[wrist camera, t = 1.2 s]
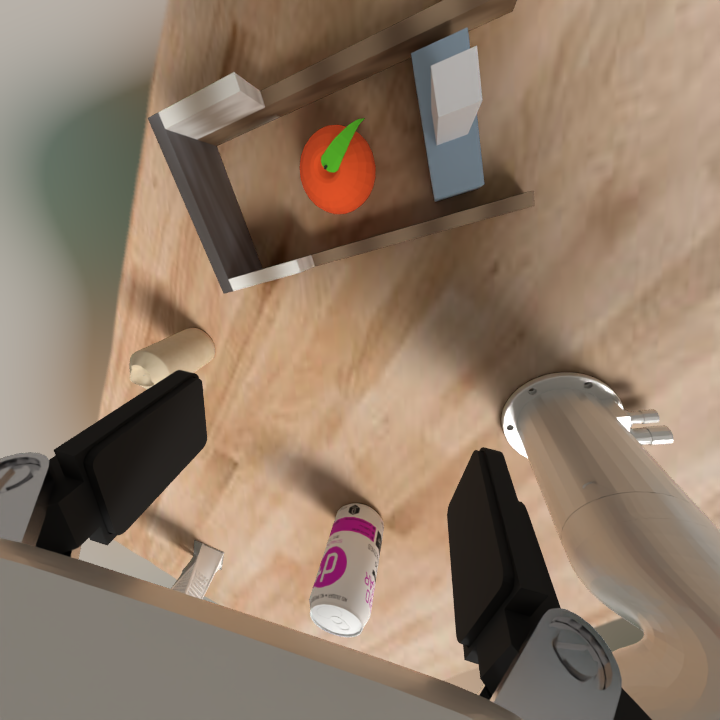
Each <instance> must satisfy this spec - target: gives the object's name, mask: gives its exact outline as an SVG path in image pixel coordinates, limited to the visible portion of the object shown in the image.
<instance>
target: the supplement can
mask: <svg viewBox="0 0 720 720" xmlns="http://www.w3.org/2000/svg"><path fill="white" fill-rule="evenodd" d="M383 530H384V524H383V520H382V519H381V517H380V515H378V513H377V512H376V511H375V510H374V509H372V508H371V507H369V506H367V505H364V504H359V503H351V504H348V505H346V506H343V507H341V508H340V509H339V510H338V511H337V515H336V518H335V521H334V524H333V527H332V530H331V533H330V536H329V539H328V543H327V546H326V549H325V552H324V555H323V558H322V561H321V564H320V567H319V571H318V574H317V577H316V580H315V583H314V586H313V589H312V592H311V595H310V599H309V600H310V610H311V611H310V616H311V619H312V620H313V622H314V623H315V624H316V625H317V626H318V627H320V628H321V629H322V630H324V631H326V632H328V633H330V634H333V635H337V636H340V637H355V636H357V635H359V634H361V632H362V630H363V627H364V626H365V624H366V623H367V621H368V620H369V618H370V614H371V607H372V601H373V594H374V588H375V582H376V575H377V569H378V562H379V556H380V549H381V543H382V537H383Z"/></svg>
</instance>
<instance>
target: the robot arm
mask: <svg viewBox="0 0 720 720" xmlns="http://www.w3.org/2000/svg"><path fill="white" fill-rule="evenodd" d="M501 421H502V428H503V432H504V435H505V437H506V439H507V441H508V443H509V444H510V445H511V446H512V448H513V449H515V450H516V451H517V452H518V453H519V454H521V455H523V456H525V457H526V458H528V460H529V462H530V465H531V467H532V470H533V472H534V475H535V477H536V480H537V482H538V485H539V487H540V490H541V492H542V495H543V497H544V500H545V502H546V505H547V507H548V510H549V512H550V515H551V517H552V520H553V522H554V525H555V528H556V530H557V533H558V535H559V538H560V540H561V543H562V545H563V547H564V550H565V552H566V554H567V557H568V559H569V562H570V564H571V566H572V568H573V570H574V571H575V573H576V575H577V576H578V578H579V579H580V580H581V582H582V583H583V584H584V585H585V587H586V588H587V589H588V590H589V591H590V592H591V593H592V594H593V595H594V596H595V597H596V598H597V599H598V600H599V601H601V602H602V603H603V604H604V605H606V606H607V607H608V608H610V609H611V610H612V611H614V612H615V613H616V614H618V615H619V616H621V617H622V618H624V619H625V620H627V621H628V622H630V623H632V624H633V625H635V626H636V627H638V628H639V629H641V630H643V631H644V637H643V638H642V640H640V641H639V642H637V643H636V644H632V645H629V646H626V647H623V648H619V649H617V650H616V651H613V652H612V651H611V650H610V648H609V647H608V645H607V644H606V643H605V641H604V640H603V638H602V637H601V636H600V635H599V634H598V632H597V631H595V629H594V628H593V627H592V626H591V625H590V624H589V623H587V622H586V621H585V620H584V619H582V618H581V617H580V616H578V615H576V614H574V613H572V612H570V611H568V610H565V609H561V608H560V605H559V602H558V599H557V596H556V593H555V590H554V588H553V585H552V582H551V579H550V576H549V573H548V570H547V567H546V564H545V561H544V558H543V555H542V553H541V550H540V547H539V544H538V541H537V538H536V535H535V532H534V529H533V526H532V523H531V520H530V517H529V515H528V512H527V509H526V507H525V505H524V504H523V503H522V502H519V501H518V499H517V496H516V493H515V489H514V486H513V483H512V480H511V477H510V474H509V471H508V468H507V465H506V462H505V458H504V455H503V453H502V452H500V451H496V450H492V449H488V448H484V447H483V448H481V449H480V451H477V450H475V451H474V452H473V454H472V456H471V458H470V460H469V463H468V465H467V467H466V469H465V471H464V473H463V476H462V478H461V480H460V482H459V484H458V486H457V489H456V491H455V493H454V495H453V497H452V499H451V502H450V504H449V507H448V513H447V519H448V532H449V545H450V558H451V572H452V585H453V598H454V612H455V625H456V636H457V640H458V642H459V643H461V644H463V647H464V658H465V660H467V661H470V662H473V663H476V664H479V670H480V679H481V680H482V681H483V683H484V684H483V685H482V687H481V688H480V690H479V692H478V693H477V694H474V693H472V692H469V691H467V690H465V689H462V688H460V687H458V686H455V685H453V684H450V683H448V682H445V681H442V680H439V679H436V678H434V677H431V676H428V675H425V674H422V673H420V672H417V671H414V670H411V669H408V668H406V667H403V666H400V665H397V664H394V663H392V662H389V661H386V660H383V659H380V658H377V657H374V656H371V655H368V654H365V653H362V652H359V651H356V650H353V649H350V648H347V647H344V646H341V645H338V644H335V643H332V642H329V641H326V640H323V639H320V638H318V637H315V636H312V635H309V634H306V633H303V632H300V631H297V630H294V629H291V628H288V627H285V626H282V625H279V624H276V623H272V622H269V621H266V620H263V619H260V618H257V617H254V616H251V615H248V614H245V613H242V612H239V611H236V610H233V609H230V608H227V607H224V606H221V605H218V604H215V603H212V602H208V601H205V600H202V599H199V598H196V597H193V596H190V595H187V594H184V593H181V592H178V591H175V590H172V589H169V588H166V587H163V586H159V585H156V584H153V583H150V582H147V581H144V580H141V579H137V578H134V577H132V576H128V575H125V574H122V573H119V572H116V571H113V570H109V569H106V568H103V567H100V566H97V565H94V564H91V563H88V562H85V561H82V560H78V559H79V554H80V549H81V545H82V544H83V543H84V542H85V541H86V540H87V539H88V538H90V540H92V541H96V542H99V543H102V544H105V545H108V544H109V543H110V542H111V541H112V540H113V539H114V538H115V537H116V536H117V535H121V534H123V533H124V532H125V531H126V530H127V529H128V528H129V527H130V526H131V525H132V524H133V523H134V522H135V521H136V520H137V519H138V518H139V517H140V515H141V514H142V513H143V512H144V511H145V510H146V509H147V508H148V507H149V506H150V505H151V504H152V503H153V501H154V500H155V499H156V498H157V497H158V496H159V495H160V494H161V493H162V492H163V491H164V490H165V489H166V487H167V486H168V485H169V484H170V483H171V482H172V481H173V480H174V479H175V478H176V477H177V476H178V475H179V474H180V472H181V471H182V470H183V469H184V468H185V467H186V466H187V465H188V464H189V463H190V462H191V461H192V460H193V458H194V457H195V456H196V455H197V454H198V453H199V452H200V451H201V450H202V449H203V447H204V446H205V444H206V441H207V431H206V420H205V408H204V397H203V386H202V381H201V380H200V379H199V377H198V375H197V374H195V373H191V372H187V371H183V370H177V371H175V372H173V373H172V374H170V375H169V376H167V377H166V378H164V379H163V380H161V381H160V382H158V383H156V384H155V385H153V386H152V387H150V388H149V389H147V390H146V391H144V392H143V393H141V394H139V395H138V396H136V397H135V398H133V399H132V400H130V401H129V402H127V403H126V404H124V405H122V406H121V407H119V408H118V409H116V410H115V411H113V412H112V413H110V414H109V415H107V416H105V417H104V418H102V419H101V420H99V421H98V422H96V423H95V424H93V425H92V426H90V427H88V428H87V429H85V430H84V431H82V432H81V433H79V434H78V435H76V436H75V437H73V438H71V439H70V440H68V441H67V442H65V443H64V444H62V445H61V446H59V447H58V448H56V449H54V452H55V454H56V456H54V457H53V458H51V459H50V460H48V458H47V457H46V456H45V455H42V454H40V453H31V452H30V453H19V454H15V455H11V456H7V457H3V458H1V459H0V720H720V529H719V528H718V527H717V526H716V525H715V524H714V523H713V522H712V521H711V520H710V519H709V518H708V516H707V515H706V514H705V513H704V512H703V511H701V510H700V508H699V507H698V506H697V505H696V504H695V503H694V502H693V501H692V500H691V499H690V498H689V496H688V495H687V494H686V493H685V492H684V491H683V490H682V489H681V488H680V487H679V486H678V484H677V483H676V482H675V481H674V480H673V479H672V478H671V477H670V476H669V475H668V474H667V472H666V471H665V470H664V469H663V468H662V467H661V466H660V465H659V464H658V463H657V462H656V460H655V459H654V458H653V457H652V456H651V455H650V454H649V453H648V452H647V451H646V449H645V448H644V447H643V446H642V445H646V444H648V445H663V444H671V443H673V434H672V432H671V430H670V429H669V428H668V427H667V426H665V425H664V426H651V427H643V428H635V429H632V428H631V426H632V424H638V423H642V424H646V423H657V422H659V415H658V413H657V412H656V410H654V409H652V410H640V411H636V412H628V411H627V410H624V408H623V405H622V403H621V401H620V398H619V397H618V396H617V395H616V393H615V392H614V391H613V390H612V389H611V388H610V387H608V386H607V385H606V384H605V383H603V382H602V381H600V380H598V379H597V378H594V377H591V376H588V375H585V374H580V373H571V372H561V373H553V374H548V375H545V376H541V377H538V378H536V379H533V380H531V381H529V382H527V383H526V384H524V385H523V386H521V387H520V388H519V389H517V390H516V391H515V392H514V393H513V394H512V395H511V397H510V398H509V399H508V401H507V402H506V404H505V407H504V409H503V412H502V417H501Z"/></svg>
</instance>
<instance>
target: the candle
mask: <svg viewBox="0 0 720 720" xmlns="http://www.w3.org/2000/svg"><path fill="white" fill-rule="evenodd" d="M214 356H215V346H214V343H213V341H212V339H211V338H210V337H209V335H208V334H206V333H205V332H204V331H202V330H200V329H197V328H188V329H185V330H183V331H181V332H179V333H176V334H174V335H172V336H170V337H168V338H165V339H163V340H161V341H159V342H157V343H154V344H152V345H150V346H148V347H146V348H143V349H141V350H139V351H137V352H135V353H134V354H133V355H132V356H131V358H130V380H131V381H132V382H133V383H135V384H137V385H139V386H141V387H143V388H145V389H149V388H150V387H152V386H153V385H155V384H156V383H158V382H160V381H161V380H163V379H164V378H166V377H167V376H169V375H170V374H172V373H173V372H175V371H177V370H183V371H187V372H191V373H193V372H195V371H197V370H198V369H200V368H201V367H203V366H204V365H206V364H207V363H209V362H210V361H211V360H212V359H213V358H214Z"/></svg>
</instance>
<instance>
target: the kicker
mask: <svg viewBox="0 0 720 720" xmlns="http://www.w3.org/2000/svg"><path fill="white" fill-rule="evenodd" d="M411 56H412V64H413V72H414V79H415V85H416V91H417V98H418V104H419V110H420V116H421V122H422V129H423V135H424V141H425V147H426V153H427V159H428V166H429V172H430V178H431V184H432V190H433V196H434V202H437V201H440V200H443V199H446V198H450V197H453V196H456V195H459V194H463V193H466V192H469V191H472V190H476V189H478V188H480V187H481V186H483V185H484V176H483V166H482V157H481V148H480V138H479V129H478V119H477V112H478V109H479V107H480V105H481V102H482V91H481V81H480V71H479V61H478V51H477V46H475V47H472V48H470V43H469V34H468V27H467V28H465V29H463V30H460V31H458V32H456V33H454V34H452V35H450V36H447V37H445V38H443V39H441V40H439V41H437V42H434V43H432V44H430V45H428V46H426V47H423V48H421V49H419V50H417V51H415V52H413V53H411Z"/></svg>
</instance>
